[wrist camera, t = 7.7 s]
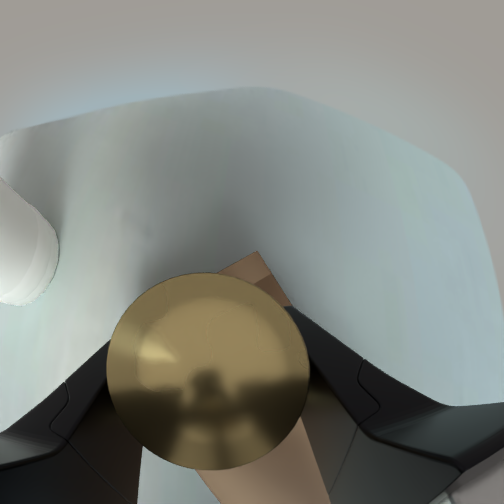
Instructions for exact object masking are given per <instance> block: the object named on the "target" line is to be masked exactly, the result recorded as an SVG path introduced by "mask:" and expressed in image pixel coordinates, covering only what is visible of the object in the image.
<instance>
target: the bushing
mask: <svg viewBox="0 0 504 504" xmlns="http://www.w3.org/2000/svg"><path fill="white" fill-rule="evenodd" d="M106 371H107V383H108V389H109V393H110V396H111V400H112V402H113V405H114V407H115V410H116V412H117V414H118V416H119V417H120V419H121V421H122V422H123V424H124V425H125V427H126V428H127V429H128V431H129V432H130V433H131V434H132V436H133V437H134V438H135V439H136V440H137V441H138V442H139V443H140V444H142V445H143V446H144V447H145V448H147V449H148V450H149V451H151V452H152V453H154V454H155V455H157V456H159V457H160V458H162V459H164V460H166V461H169V462H171V463H173V464H176V465H179V466H183V467H186V468H191V469H197V470H213V471H216V470H226V469H232V468H236V467H240V466H243V465H246V464H248V463H251V462H254V461H256V460H258V459H259V458H261V457H263V456H265V455H266V454H268V453H269V452H271V451H272V450H273V449H274V448H276V447H277V446H278V445H279V444H280V443H281V442H282V441H283V440H284V439H285V438H286V437H287V436H288V435H289V433H290V432H291V431H292V429H293V428H294V427H295V425H296V423H297V421H298V420H299V418H300V416H301V414H302V411H303V409H304V406H305V403H306V400H307V395H308V391H309V382H310V367H309V359H308V354H307V349H306V346H305V343H304V340H303V337H302V335H301V333H300V331H299V329H298V327H297V325H296V324H295V322H294V321H293V319H292V318H291V316H290V315H289V313H288V312H287V311H286V310H285V309H284V308H283V306H282V305H281V304H280V303H279V302H278V301H276V300H275V299H274V298H273V297H272V296H271V295H270V294H268V293H267V292H265V291H264V290H262V289H261V288H259V287H257V286H255V285H254V284H252V283H250V282H248V281H245V280H242V279H240V278H237V277H234V276H229V275H225V274H219V273H191V274H185V275H180V276H177V277H173V278H170V279H168V280H165V281H163V282H161V283H159V284H157V285H155V286H153V287H152V288H150V289H148V290H147V291H146V292H144V293H143V294H142V295H141V296H139V297H138V298H137V299H136V300H135V301H134V302H133V303H132V304H131V305H130V306H129V307H128V309H127V310H126V311H125V313H124V314H123V315H122V317H121V319H120V320H119V322H118V324H117V326H116V328H115V330H114V333H113V335H112V337H111V341H110V345H109V348H108V354H107V363H106Z"/></svg>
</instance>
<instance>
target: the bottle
mask: <svg viewBox="0 0 504 504" xmlns="http://www.w3.org/2000/svg"><path fill="white" fill-rule="evenodd" d="M58 252H59V243H58V239H57V236H56V232H55V230H54V228H53V227H52V226H51V225H50V223H49V222H48V221H47V220H46V219H45V218H44V217H43V216H42V215H41V213H40V212H39V211H38V210H37V209H36V208H35V207H33V206H32V205H31V204H29V203H27V202H26V201H25V200H24V199H23V198H22V197H21V196H20V195H18V194H17V193H16V192H15V191H14V190H13V189H12V188H11V187H10V186H9V185H8V184H7V183H6V182H5V181H4V180H3V179H2V178H1V177H0V302H2V303H7V304H10V305H15V306H24V305H27V304H30V303H32V302H34V301H35V300H36V299H37V298H38V297H39V296H41V295H42V294H43V293H44V292H45V290H46V289H47V287H48V285H49V283H50V282H51V280H52V278H53V276H54V273H55V269H56V266H57V263H58Z"/></svg>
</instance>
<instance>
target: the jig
mask: <svg viewBox="0 0 504 504" xmlns="http://www.w3.org/2000/svg"><path fill="white" fill-rule="evenodd" d="M218 273H219V274H225V275H229V276H234V277H237V278H240V279H242V280H245V281H248V282H250V283H252V284H254V285H255V286H257V287H259V288H261V289H262V290H264V291H265V292H267V293H268V294H270V295H271V296H272V297H273V298H274V299H275V300H276V301H278V302H279V303H280V304H281V305H282V306H292V304H291V303H290V301H289V300H288V298H287V297H286V295H285V293H284V292H283V290H282V289H281V287H280V286H279V284H278V282H277V281H276V279H275V278H274V276H273V275H272V273H271V271H270V270H269V268H268V267H267V265H266V264H265V262H264V260H263V259H262V257H261V256H260V254H259V253H258V251H256V252H254V253H252V254H250V255H248V256H247V257H245V258H243V259H241V260H239V261H238V262H236V263H234V264H232V265H230V266H229V267H227V268H225V269H223V270H221V271H219V272H218ZM195 470H196V471H197V473H198V474H199V476H200V477H201V478H202V480H203V481H204V482H205V484H206V485H207V486H208V488H209V489H210V490H211V492H212V493H213V494H214V495H215V497H216V498H217V499H218V501H219V502H220V503H221V504H331V502H330V500H329V495H328V494H327V491H326V488H325V485H324V482H323V479H322V477H321V474H320V471H319V468H318V465H317V462H316V459H315V457H314V454H313V451H312V448H311V445H310V442H309V439H308V436H307V434H306V431H305V428H304V425H303V422H302V419H301V416H300V418H299V420H298V421H297V423H296V425H295V427H294V428H293V429H292V431H291V432H290V433H289V435H288V436H287V437H286V438H285V439H284V440H283V441H282V442H281V443H280V444H279V445H278V446H277V447H276V448H274V449H273V450H272V451H271V452H269V453H268V454H266V455H265V456H263V457H261V458H259V459H258V460H256V461H254V462H251V463H248V464H246V465H243V466H240V467H236V468H232V469H226V470H216V471H213V470H197V469H195Z"/></svg>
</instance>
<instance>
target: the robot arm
mask: <svg viewBox="0 0 504 504" xmlns="http://www.w3.org/2000/svg"><path fill="white" fill-rule="evenodd" d="M283 308H284V309H285V310H286V311H287V312H288V313H289V315H290V316H291V318H292V319H293V321H294V322H295V324H296V325H297V327H298V329H299V331H300V333H301V335H302V337H303V340H304V343H305V346H306V349H307V354H308V359H309V367H310V382H309V391H308V395H307V400H306V403H305V406H304V409H303V411H302V414H301V419H302V422H303V425H304V428H305V431H306V434H307V436H308V439H309V442H310V445H311V448H312V451H313V454H314V457H315V459H316V462H317V465H318V468H319V471H320V474H321V477H322V479H323V482H324V485H325V488H326V491H327V494H328V495H329V500H330V502H331V504H504V402H501V403H492V404H482V405H470V406H449V405H444V404H442V403H439V402H437V401H435V400H433V399H431V398H429V397H427V396H425V395H423V394H421V393H419V392H418V391H416V390H414V389H412V388H410V387H408V386H407V385H405V384H403V383H401V382H399V381H398V380H396V379H394V378H393V377H391V376H389V375H388V374H386V373H384V372H383V371H381V370H380V369H378V368H377V367H375V366H374V365H373V364H371V363H370V362H368V361H367V360H366V359H364V360H363V357H361V356H360V355H359V354H357V353H356V352H354V351H353V350H352V349H350V348H349V347H347V346H346V345H345V344H343V343H342V342H341V341H339V340H338V339H337V338H335V337H334V336H332V335H331V334H330V333H328V332H327V331H326V330H324V329H323V328H321V327H320V326H319V325H317V324H316V323H315V322H313V321H312V320H311V319H309V318H308V317H307V316H305V315H304V314H302V313H301V312H300V311H298V310H297V309H296V308H294V307H293V306H283ZM110 341H111V339H110V340H109V341H108V342H107V343H106V344H105V345H104V346H103V347H101V348H100V349H99V350H98V351H97V352H96V353H95V354H94V355H93V356H91V357H90V358H89V359H88V360H87V361H86V362H85V363H84V364H83V365H82V366H81V367H79V368H78V369H77V370H76V371H75V372H74V373H73V374H72V375H71V376H70V377H69V378H68V379H66V380H65V382H63V383H62V384H61V385H60V386H59V387H58V388H57V389H56V390H54V391H53V392H52V393H51V394H50V395H49V396H48V397H47V398H45V399H44V400H43V401H42V402H41V403H39V404H38V405H37V406H36V407H34V408H33V409H32V410H31V411H29V412H28V413H27V414H25V415H24V416H23V417H22V418H20V419H19V420H18V421H17V422H15V423H14V424H13V425H11V426H10V427H9V428H7V429H6V430H5V431H3V432H1V433H0V504H137V499H138V487H139V476H140V466H141V457H142V448H143V445H142V444H140V443H139V442H138V441H137V440H136V439H135V438H134V437H133V436H132V434H131V433H130V432H129V431H128V429H127V428H126V427H125V425H124V424H123V422H122V421H121V419H120V417H119V416H118V414H117V412H116V410H115V407H114V405H113V402H112V400H111V396H110V393H109V389H108V383H107V371H106V363H107V354H108V348H109V345H110Z"/></svg>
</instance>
